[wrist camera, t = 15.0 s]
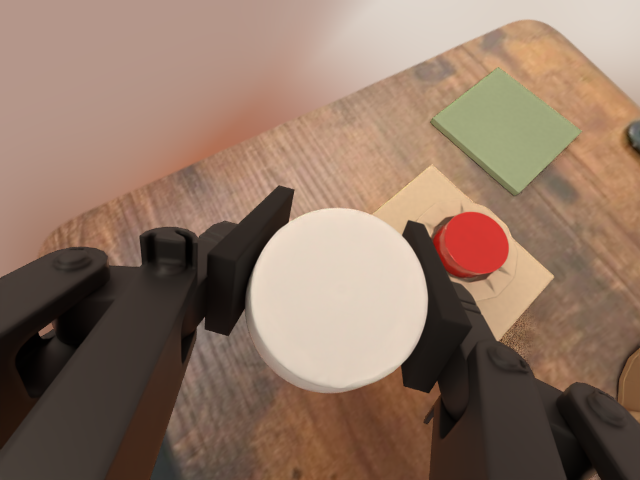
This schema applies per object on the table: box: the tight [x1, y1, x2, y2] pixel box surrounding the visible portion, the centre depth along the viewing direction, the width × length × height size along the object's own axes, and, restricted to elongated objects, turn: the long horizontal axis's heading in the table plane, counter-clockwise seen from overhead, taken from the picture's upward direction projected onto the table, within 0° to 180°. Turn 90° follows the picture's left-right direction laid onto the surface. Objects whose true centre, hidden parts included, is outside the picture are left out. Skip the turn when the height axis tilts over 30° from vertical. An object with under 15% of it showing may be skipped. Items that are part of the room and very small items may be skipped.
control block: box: [371, 165, 554, 341], centre depth 20 cm, size 12×9×4 cm
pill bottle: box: [245, 208, 428, 393], centre depth 11 cm, size 5×5×10 cm
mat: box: [430, 67, 582, 196], centre depth 26 cm, size 10×10×1 cm
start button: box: [433, 212, 509, 278], centre depth 18 cm, size 4×4×2 cm
